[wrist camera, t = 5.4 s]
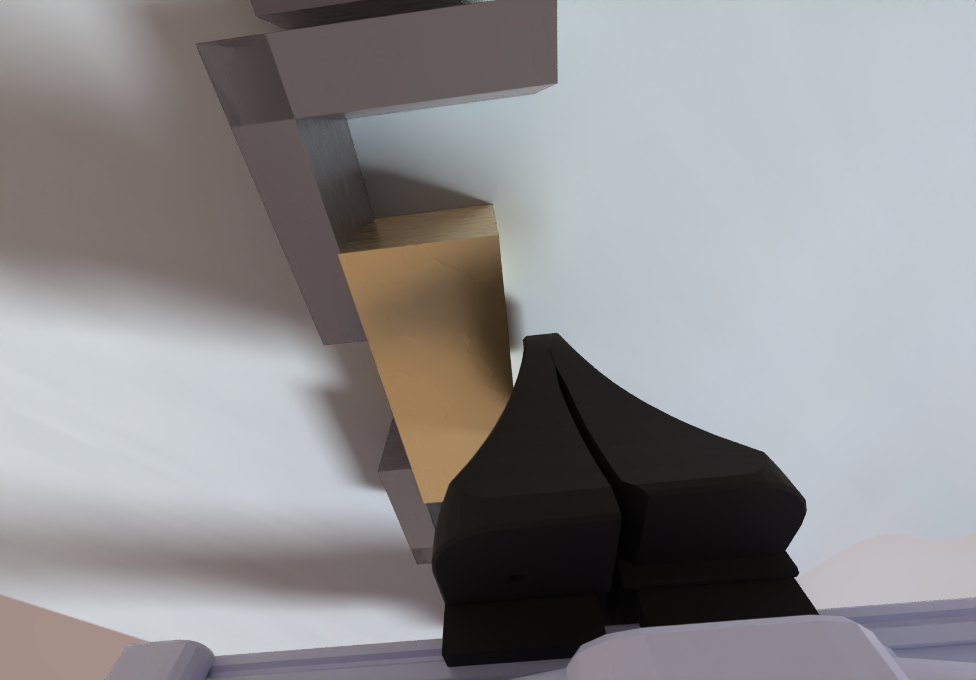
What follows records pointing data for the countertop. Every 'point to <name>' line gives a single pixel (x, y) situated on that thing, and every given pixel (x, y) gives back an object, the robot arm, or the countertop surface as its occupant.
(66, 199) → the countertop surface
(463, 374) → the light wood block
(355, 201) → the chain end blocks
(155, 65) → the countertop surface
